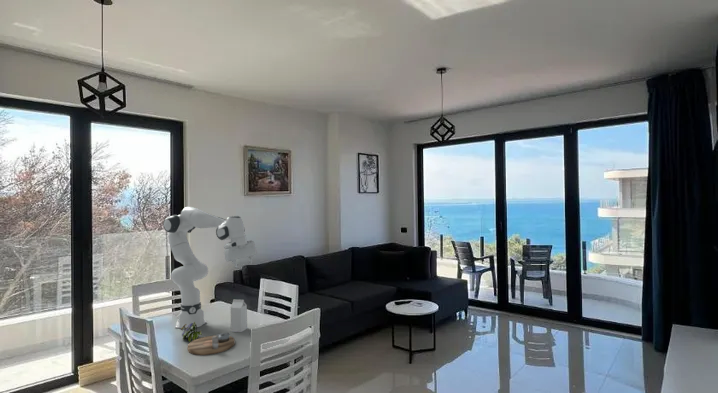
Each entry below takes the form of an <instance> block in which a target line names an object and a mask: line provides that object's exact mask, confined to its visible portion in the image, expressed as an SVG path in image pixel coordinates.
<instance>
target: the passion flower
mask: <svg viewBox="0 0 718 393" xmlns="http://www.w3.org/2000/svg"><path fill="white" fill-rule="evenodd" d="M185 326H186V324H185V325H184V326H183V327H182V328H180V331H182V330H183V328H185ZM195 326H196V327H195ZM199 335H200V336H202V335H203V333H202V330H199V331H198V327H197V325H196V323H195V322H194V323H192V324H190V325H189V326H188V327H187V328H185V329H184V331H183V332H182V333H181V336H182V338H181V340H186V338H187V340H188V342H189V343H190V342H192V341H194V340H196V339H198V338H200V337H199Z"/></svg>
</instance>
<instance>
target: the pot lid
mask: <svg viewBox="0 0 718 393" xmlns="http://www.w3.org/2000/svg"><path fill="white" fill-rule="evenodd" d="M215 335H216V336H218V343H223V342H227V341H229V336H230V333H229V332H220V333H217V334H215Z"/></svg>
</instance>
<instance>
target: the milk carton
mask: <svg viewBox="0 0 718 393" xmlns="http://www.w3.org/2000/svg"><path fill="white" fill-rule="evenodd" d="M247 307H248V304H247V303H246V302H245V299H233V300H232V304H231V305H230V308H229V309H230V332H232V333H233V332H234V333H235V332H236V333H243V332H244V331H246V330H247V329H248V308H247Z"/></svg>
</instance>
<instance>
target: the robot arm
mask: <svg viewBox="0 0 718 393" xmlns="http://www.w3.org/2000/svg"><path fill="white" fill-rule="evenodd" d="M196 228H197V229H211V228H216V229H215V233H216V234H215V235H216V237H217V239H219V241H228V240H230V241H229V242H227V243H225V244H224V245H223V248H224V252H223V255H224V259H225V262H231V263H232V264H233V266H234V268H235V269H236V268H239V267H240V266H239V264H238V263H237V260H241V259H245V258H248V261H247V264H248V265H252V264H253V258H254V257H253V256H257V254H258V251H257V247H256V245H255V242H254V240H252V239H251V240H247V237H246V236H247V235H246V233H245V230H246V228H245V225H244V221H243V219H242V217H241V216H239V215H234V216H233V215H232V216H228V217H227V218H222V217H220V216H216V215H213V214H212V213H208V212H206V211H205V210H202V209H200V208H197V207H193V206H185V207H184V208H183V209H182V210H181V211H180V214H178V215H177V214H173V215H171V216H168V217H166V218H164V220H163V230H165V231H166V233H168V234H167V235H168V243H169V247H170V250H171V253H172V255H173V258H174V260H175V261H176V262H179V263H180V264H182V265H183V266H179V267H176V268H174V269H173V270H172V271H171V275H170V277H171V280H172V283H174V284H175V285H176V286H177V287H178V288H179V292H180V296H181V297H180V298H181V304H180V312H179V314H178V315H176V320H177V321H176V323H175V329H181V328H182V327H183V326H184V325H185V324H186V326H185V328H187V327H188V326H189V325H190V324H192V323H194V322H195V323H196V325H197V328H199V327H202V326H203V325H206V324H207V323H208V321H207V320H206V319H205V313H204V312H205V311H204V310H203V309H202V302H201V290H200V289H199V288H198V287H195V284H194V282H197V281H199V280H202V279H203V278H205V277H207V276H208V274H209V268H208V266H207V264H205V263H204V262H202V261H201V260H199V259H198V258H197V256H196V255H195V254H194V252H193V250H192V248H191V247H192V246H190V243H189V240H188V238H187V233H188V234H190V233H191V232H192V231H193V230H195V229H196ZM195 327H196V326H195ZM185 328H183V329H184V330H185ZM183 329H182V330H183Z"/></svg>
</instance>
